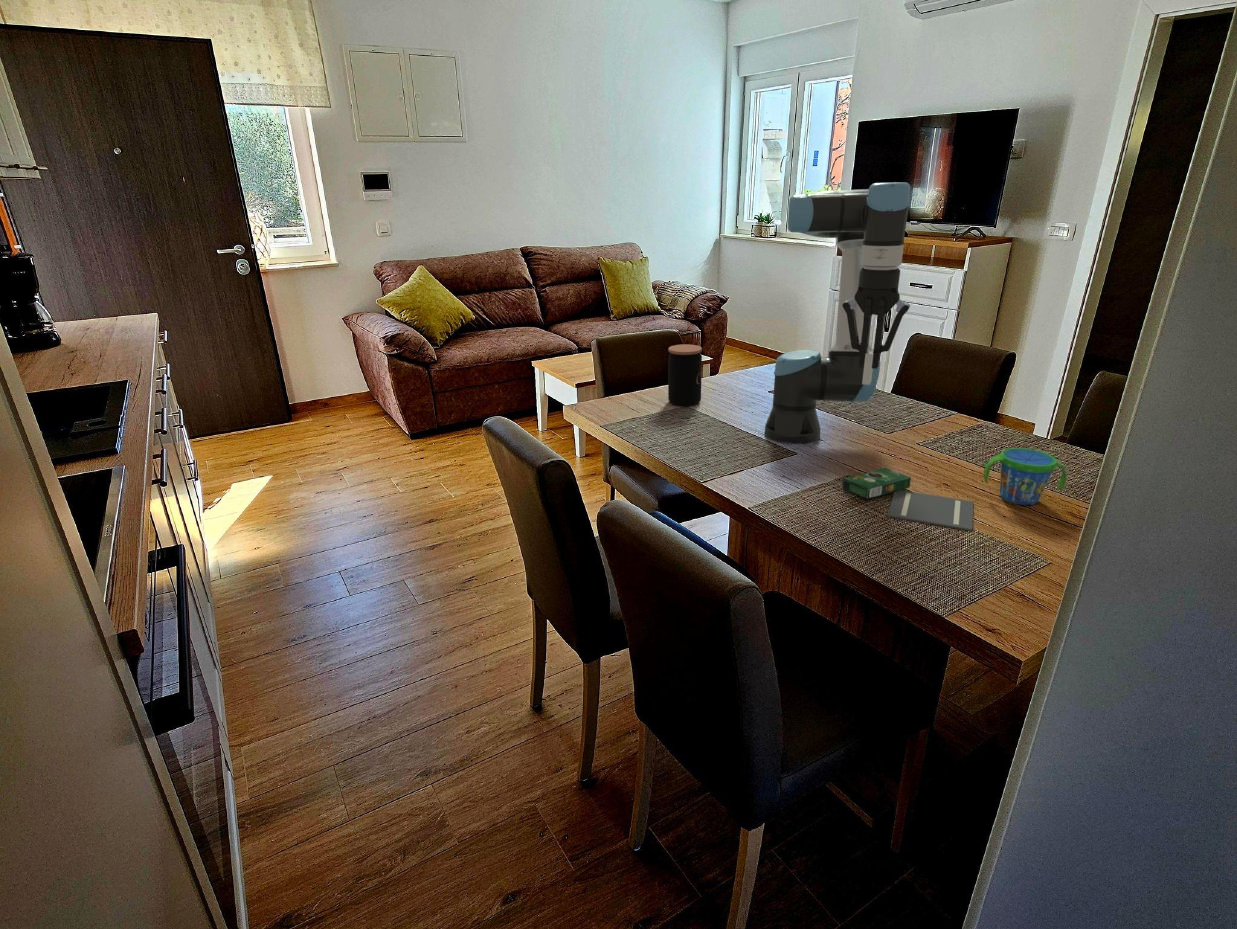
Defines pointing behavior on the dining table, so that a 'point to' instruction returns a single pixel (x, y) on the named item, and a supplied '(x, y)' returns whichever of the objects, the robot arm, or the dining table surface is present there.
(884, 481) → the coffee box
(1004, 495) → the snack cup
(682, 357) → the coffee jar
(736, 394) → the dining table surface
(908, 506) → the mat
